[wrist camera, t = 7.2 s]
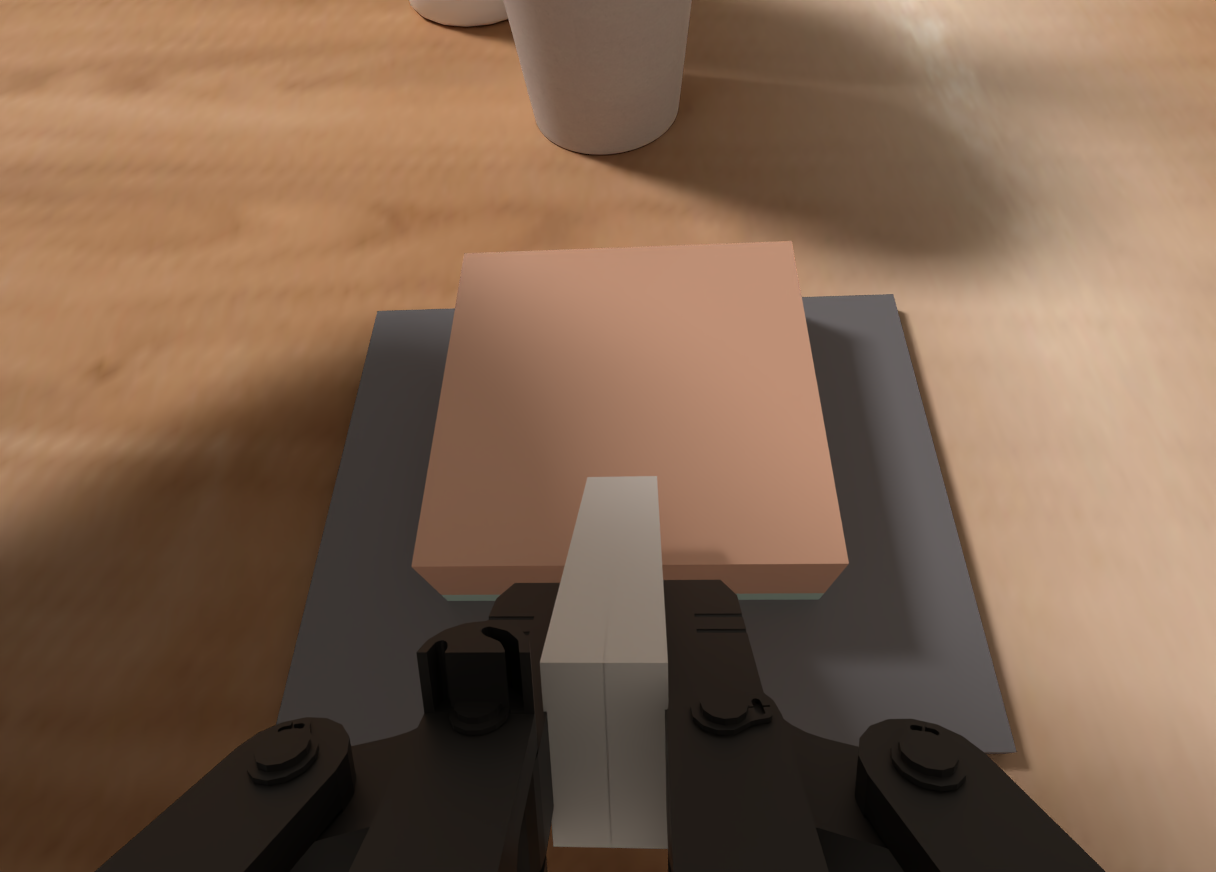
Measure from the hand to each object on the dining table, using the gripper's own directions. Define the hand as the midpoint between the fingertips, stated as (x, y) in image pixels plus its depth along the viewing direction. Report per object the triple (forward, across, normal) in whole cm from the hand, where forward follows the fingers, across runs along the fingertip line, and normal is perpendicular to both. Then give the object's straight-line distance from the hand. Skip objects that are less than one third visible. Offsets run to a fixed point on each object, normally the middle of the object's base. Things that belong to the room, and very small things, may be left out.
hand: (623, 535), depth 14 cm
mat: (+5, 0, -1) cm, 6 cm away
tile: (+2, 0, -2) cm, 3 cm away
